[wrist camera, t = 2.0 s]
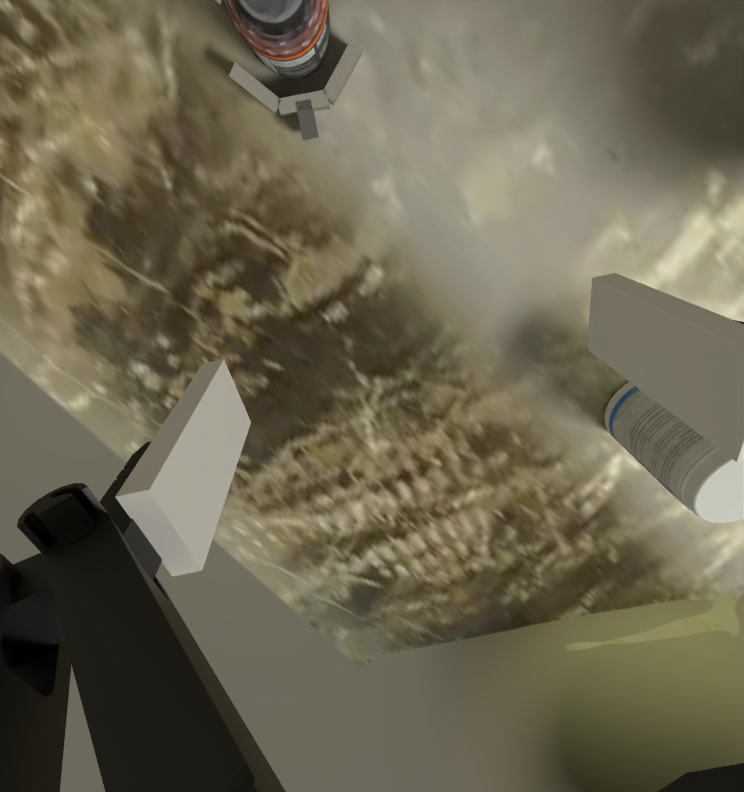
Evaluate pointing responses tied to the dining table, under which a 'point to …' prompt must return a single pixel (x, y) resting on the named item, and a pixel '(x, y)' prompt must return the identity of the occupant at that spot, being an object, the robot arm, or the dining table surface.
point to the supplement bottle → (284, 32)
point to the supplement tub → (677, 456)
